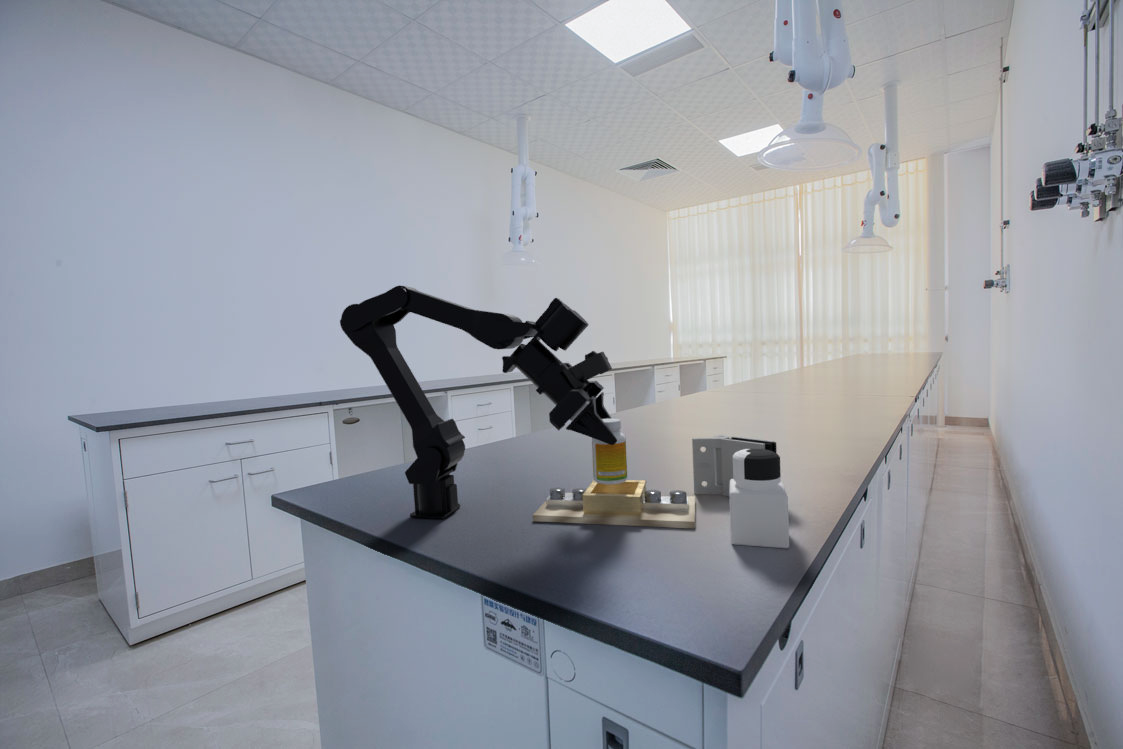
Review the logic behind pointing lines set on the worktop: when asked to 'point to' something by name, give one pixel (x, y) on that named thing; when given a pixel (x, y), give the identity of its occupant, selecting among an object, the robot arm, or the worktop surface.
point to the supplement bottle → (610, 457)
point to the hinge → (720, 461)
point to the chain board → (619, 517)
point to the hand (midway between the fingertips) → (617, 439)
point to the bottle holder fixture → (618, 499)
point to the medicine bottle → (758, 500)
